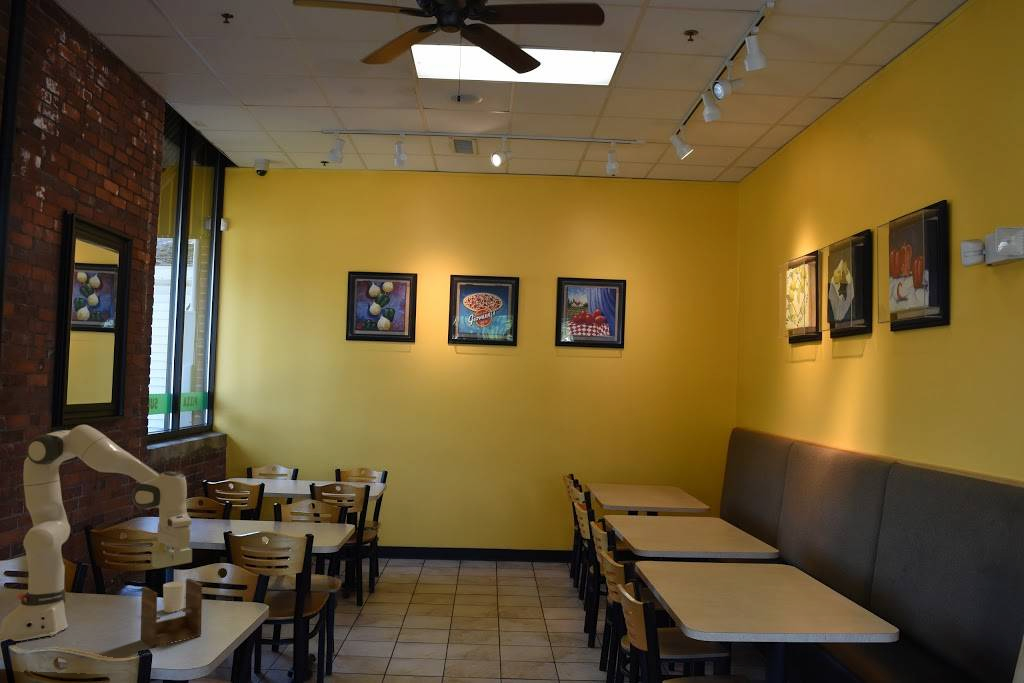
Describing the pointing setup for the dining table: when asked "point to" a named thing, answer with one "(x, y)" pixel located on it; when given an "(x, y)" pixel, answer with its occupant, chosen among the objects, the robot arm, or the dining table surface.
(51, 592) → the robot arm
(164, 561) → the cream rectangular block
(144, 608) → the wooden napkin holder
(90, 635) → the dining table surface
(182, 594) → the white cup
